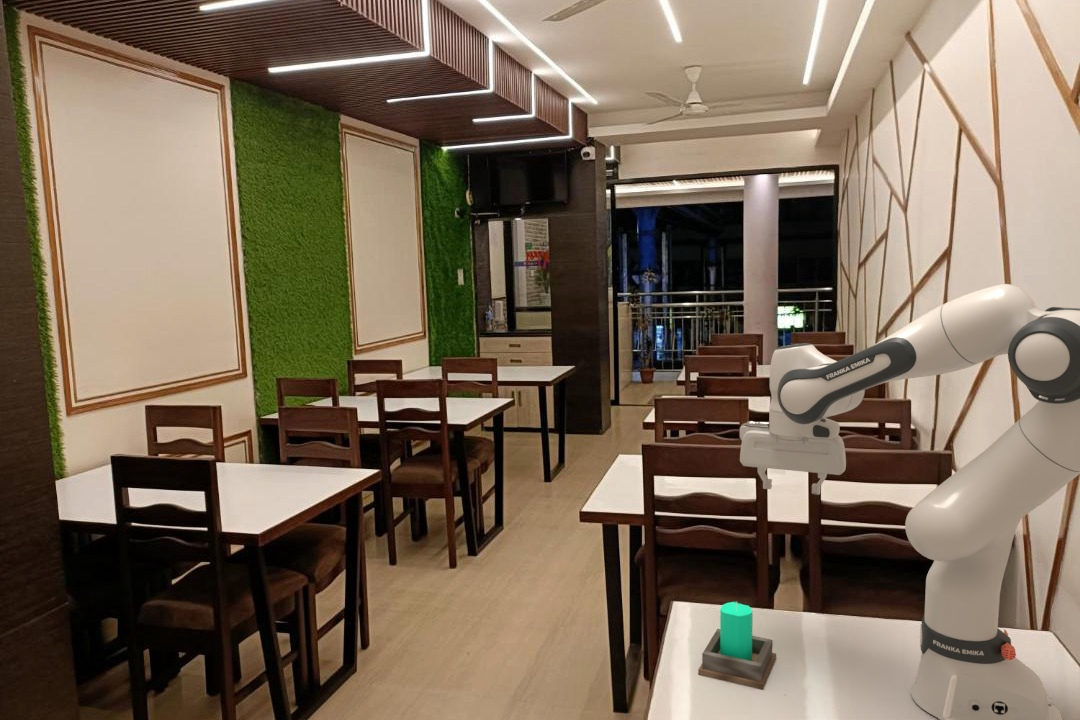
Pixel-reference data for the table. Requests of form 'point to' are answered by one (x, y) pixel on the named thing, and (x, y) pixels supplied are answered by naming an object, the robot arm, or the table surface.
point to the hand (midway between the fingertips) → (791, 490)
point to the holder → (739, 663)
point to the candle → (736, 630)
